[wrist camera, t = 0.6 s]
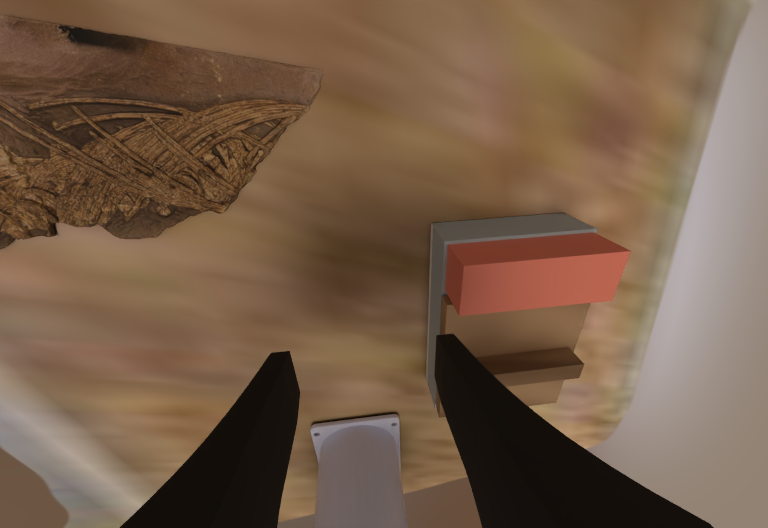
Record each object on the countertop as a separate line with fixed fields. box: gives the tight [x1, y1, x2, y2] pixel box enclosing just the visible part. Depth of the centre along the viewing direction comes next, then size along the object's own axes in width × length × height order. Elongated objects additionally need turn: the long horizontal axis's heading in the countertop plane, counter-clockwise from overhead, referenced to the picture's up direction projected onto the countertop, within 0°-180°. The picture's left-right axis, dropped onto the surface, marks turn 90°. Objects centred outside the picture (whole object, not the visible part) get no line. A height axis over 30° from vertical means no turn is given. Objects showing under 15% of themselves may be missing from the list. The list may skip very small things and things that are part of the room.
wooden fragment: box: [0, 15, 323, 249], centre depth 15 cm, size 26×11×1 cm, turn 96°
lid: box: [436, 295, 590, 417], centre depth 19 cm, size 10×9×2 cm
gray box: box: [426, 213, 597, 408], centre depth 21 cm, size 14×9×3 cm, turn 2°
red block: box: [445, 232, 631, 316], centre depth 16 cm, size 3×9×3 cm, turn 92°
